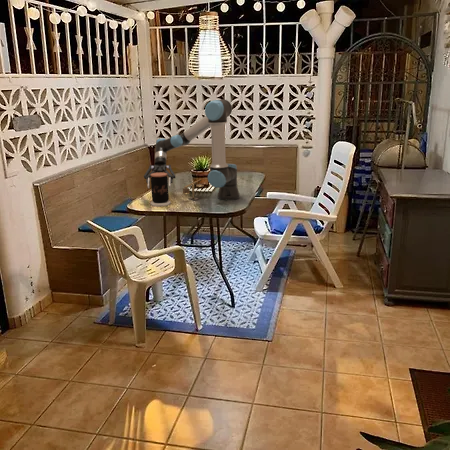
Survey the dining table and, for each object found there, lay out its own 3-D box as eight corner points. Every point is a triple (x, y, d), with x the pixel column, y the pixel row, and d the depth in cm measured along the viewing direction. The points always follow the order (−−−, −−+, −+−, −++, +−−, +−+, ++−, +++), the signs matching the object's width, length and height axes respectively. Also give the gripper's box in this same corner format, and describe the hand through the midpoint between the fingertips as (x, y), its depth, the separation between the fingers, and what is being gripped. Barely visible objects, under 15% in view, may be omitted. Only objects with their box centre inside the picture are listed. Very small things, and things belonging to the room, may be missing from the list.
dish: (174, 203, 310) (174, 201, 309) (158, 207, 301) (158, 205, 301) (162, 200, 319) (162, 198, 318) (146, 204, 310) (146, 201, 310)
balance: (206, 198, 323) (205, 179, 319) (186, 202, 312) (185, 183, 308) (200, 196, 327) (199, 178, 323) (180, 201, 316) (179, 182, 312)
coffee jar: (152, 203, 304) (150, 176, 298) (151, 200, 314) (150, 173, 308) (169, 202, 306) (168, 175, 300) (168, 199, 316) (166, 172, 310)
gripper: (180, 162, 317) (179, 189, 308) (142, 163, 317) (140, 190, 308) (179, 156, 311) (178, 183, 301) (140, 156, 311) (138, 184, 301)
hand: (159, 187), depth 304 cm, fingers open, 13 cm apart
